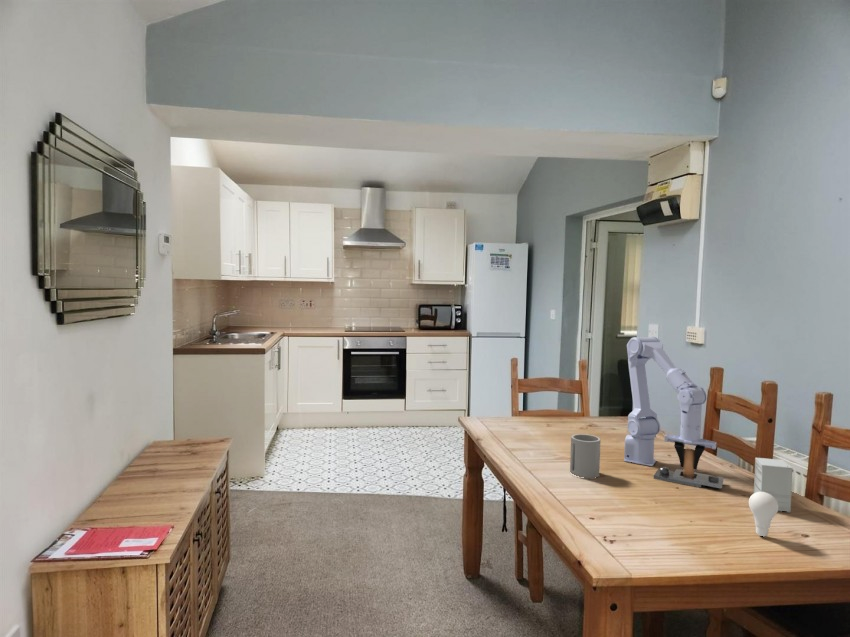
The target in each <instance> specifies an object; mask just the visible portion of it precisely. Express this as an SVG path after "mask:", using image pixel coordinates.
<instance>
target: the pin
mask: <svg viewBox="0 0 850 637" xmlns="http://www.w3.org/2000/svg"><path fill="white" fill-rule="evenodd" d="M694 462H695V449H693V448H688V447H687V448H686V447H685V448H684V460H683V467H682V470H683V476H684V477H690V478H694V472H695V469H694Z"/></svg>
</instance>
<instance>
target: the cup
mask: <svg viewBox="0 0 850 637" xmlns="http://www.w3.org/2000/svg"><path fill="white" fill-rule="evenodd" d="M600 457H601V438H600V437H599V436H596V435H593V434H587V433H576V434H575V433H574V434H572V435H571V437H570V458H569V460H570V462H569V465H570V467H569V473H570V472H571V473H572V474H574V475H576V476H579V477H584V478H595V477H598V476H599V477H600V469H601V466H600V463H601V458H600ZM599 477H598V478H599ZM595 479H596V478H595Z"/></svg>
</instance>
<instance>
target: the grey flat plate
mask: <svg viewBox="0 0 850 637" xmlns="http://www.w3.org/2000/svg"><path fill="white" fill-rule="evenodd" d="M653 479H655V480H659V481H664V482H668V483H675V484H680V485H686V486H691V487H695V488H699V487H700V489H701V488H702V486H707V487H710V488H714V489H717V488H718V489H722V488H723V485H724V477H722V476H717V475H711V474H706V473H700V472H695V471H694V478H690V477H684V476H683V469H678V468H676V469H675V471H673V470H670V467H667V466H659V468H657V470H656V471H655V473H654V475H653Z"/></svg>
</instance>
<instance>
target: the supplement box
mask: <svg viewBox="0 0 850 637" xmlns="http://www.w3.org/2000/svg"><path fill="white" fill-rule="evenodd" d="M753 483H754V484H753V494H754V493H756V492H766V493H768V494H770V495H772V496H773V497H774V498H775V499H776V501H777V503H778V512H782V511H787V512H786V513H791V512H792V486H793V467H792V466H791V465H790V464H788V462H786V461H785V460H784V459H775V458H774V459H773V458H766V457H765V458H764V457H755V458H754V482H753Z"/></svg>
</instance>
